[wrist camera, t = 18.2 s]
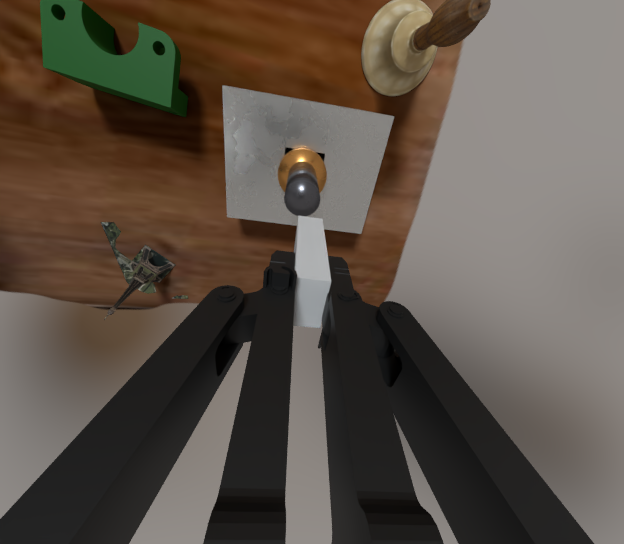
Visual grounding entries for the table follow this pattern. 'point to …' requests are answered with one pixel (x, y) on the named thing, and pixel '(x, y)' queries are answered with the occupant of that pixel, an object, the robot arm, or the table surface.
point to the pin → (302, 180)
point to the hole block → (293, 134)
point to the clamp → (111, 56)
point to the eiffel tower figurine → (138, 267)
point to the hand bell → (413, 40)
